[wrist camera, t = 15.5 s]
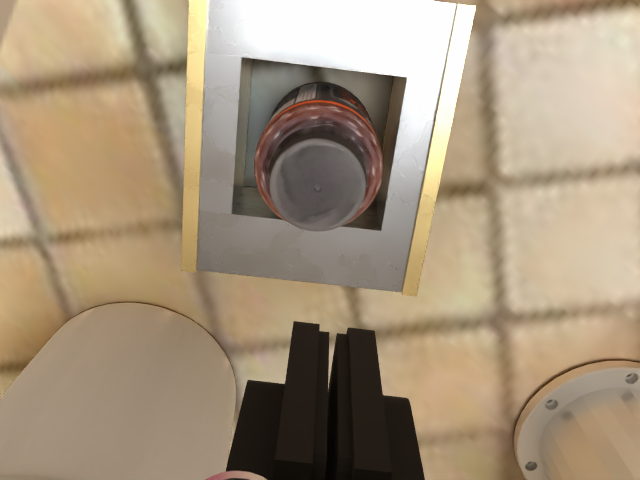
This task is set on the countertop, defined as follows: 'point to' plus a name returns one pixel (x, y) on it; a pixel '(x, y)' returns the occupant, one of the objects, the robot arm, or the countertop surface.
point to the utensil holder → (120, 401)
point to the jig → (398, 146)
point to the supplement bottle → (319, 158)
